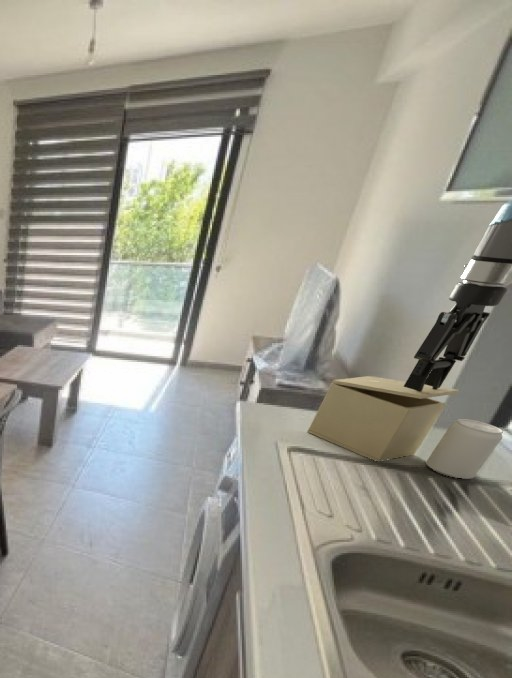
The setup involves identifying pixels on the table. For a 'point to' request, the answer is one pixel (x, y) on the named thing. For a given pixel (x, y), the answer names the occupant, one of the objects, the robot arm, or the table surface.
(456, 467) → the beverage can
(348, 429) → the tan box
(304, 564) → the table surface
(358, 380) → the box lid
